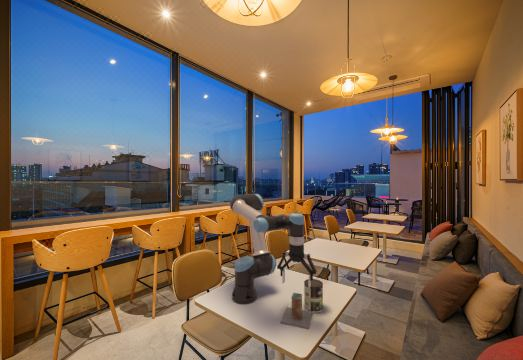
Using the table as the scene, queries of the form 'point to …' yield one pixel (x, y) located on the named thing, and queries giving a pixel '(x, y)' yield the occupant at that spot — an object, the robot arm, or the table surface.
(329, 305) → the table surface
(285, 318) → the slate coaster
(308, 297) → the coffee can
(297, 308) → the walnut block
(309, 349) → the table surface
